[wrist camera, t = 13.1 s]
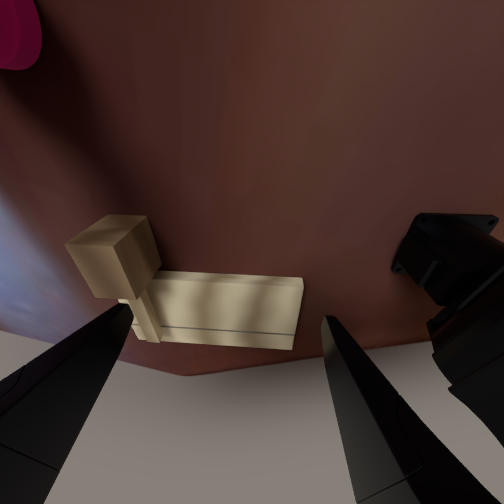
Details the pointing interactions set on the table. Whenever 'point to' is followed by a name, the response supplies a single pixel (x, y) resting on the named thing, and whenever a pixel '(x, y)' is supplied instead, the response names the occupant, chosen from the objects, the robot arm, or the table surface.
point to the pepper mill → (19, 34)
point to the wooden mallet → (120, 264)
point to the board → (225, 308)
